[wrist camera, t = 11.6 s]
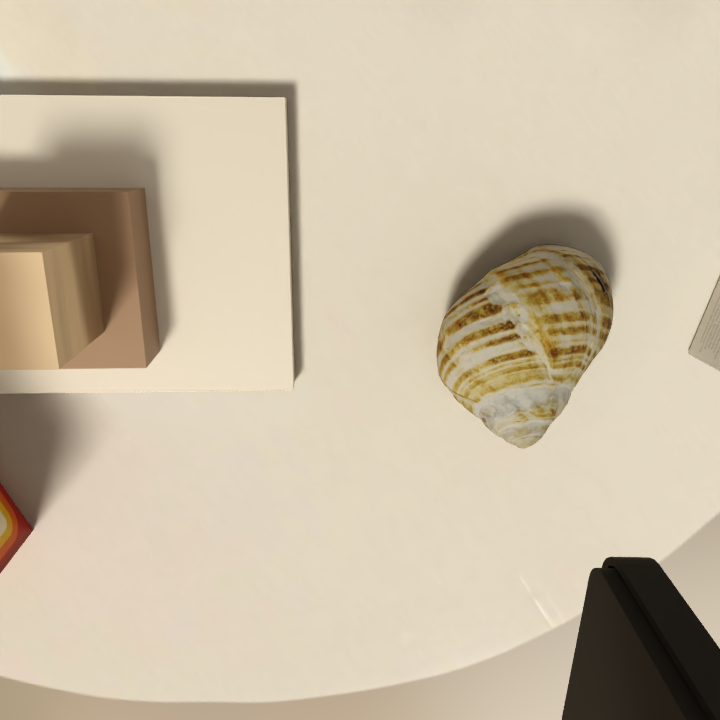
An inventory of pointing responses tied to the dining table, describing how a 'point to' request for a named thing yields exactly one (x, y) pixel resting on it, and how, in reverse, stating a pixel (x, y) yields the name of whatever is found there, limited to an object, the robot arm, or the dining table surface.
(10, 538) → the baking soda box
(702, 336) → the skincare box
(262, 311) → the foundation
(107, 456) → the dining table surface
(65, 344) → the oak block
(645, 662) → the robot arm
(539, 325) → the seashell
